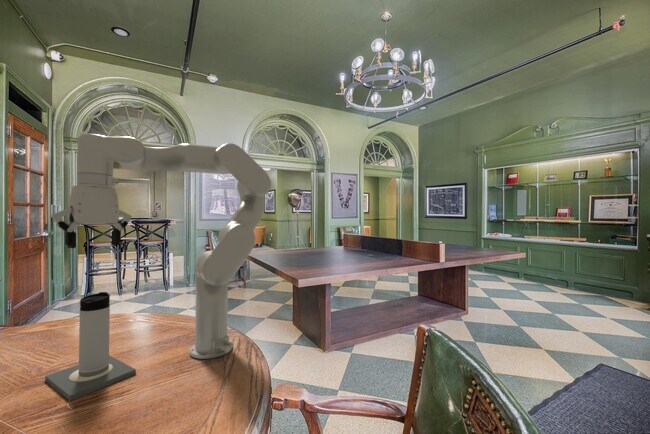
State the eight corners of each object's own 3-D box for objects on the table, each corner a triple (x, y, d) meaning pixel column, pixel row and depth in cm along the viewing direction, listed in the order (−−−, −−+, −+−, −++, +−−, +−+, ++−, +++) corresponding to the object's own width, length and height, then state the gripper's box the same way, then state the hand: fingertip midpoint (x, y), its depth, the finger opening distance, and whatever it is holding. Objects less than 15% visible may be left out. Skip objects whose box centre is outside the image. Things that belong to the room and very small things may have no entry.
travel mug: (115, 364, 81) (116, 291, 81) (97, 377, 74) (98, 298, 74) (92, 364, 80) (93, 291, 81) (72, 377, 74) (73, 298, 74)
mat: (135, 373, 78) (135, 368, 78) (69, 401, 67) (69, 394, 67) (108, 358, 87) (108, 354, 87) (45, 380, 75) (45, 375, 75)
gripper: (124, 186, 87) (123, 243, 87) (47, 179, 72) (46, 248, 72) (137, 184, 83) (136, 244, 83) (58, 176, 68) (57, 250, 68)
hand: (94, 246), depth 78 cm, fingers open, 9 cm apart
